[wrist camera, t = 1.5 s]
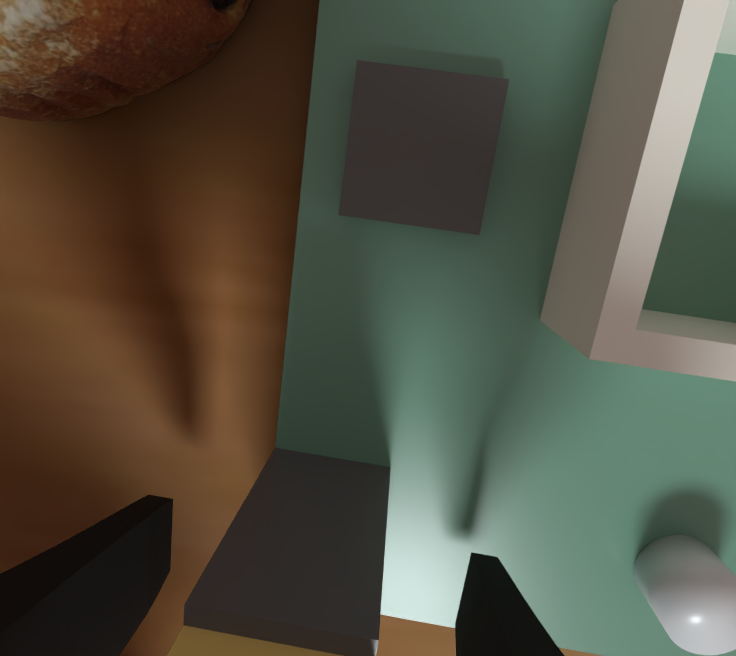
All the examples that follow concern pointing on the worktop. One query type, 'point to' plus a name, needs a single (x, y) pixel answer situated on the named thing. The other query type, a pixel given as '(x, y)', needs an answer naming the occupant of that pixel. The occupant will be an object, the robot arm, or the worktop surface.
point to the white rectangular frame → (638, 191)
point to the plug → (296, 565)
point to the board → (507, 327)
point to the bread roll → (102, 51)
